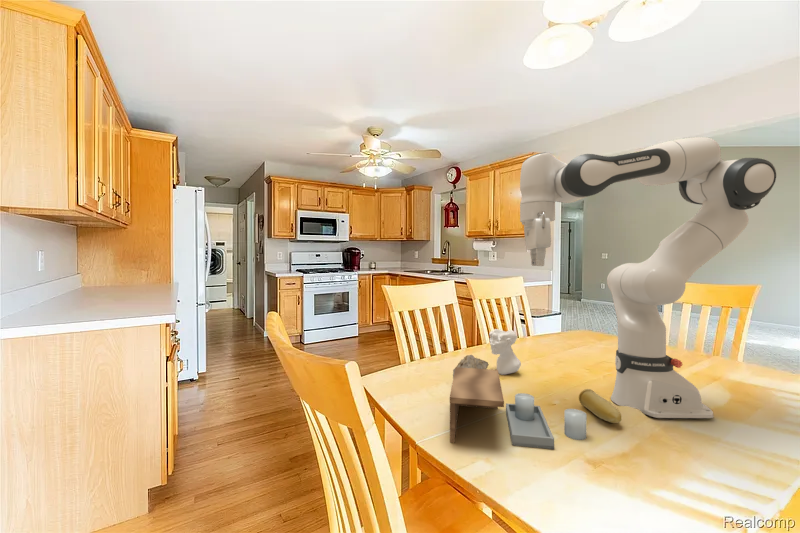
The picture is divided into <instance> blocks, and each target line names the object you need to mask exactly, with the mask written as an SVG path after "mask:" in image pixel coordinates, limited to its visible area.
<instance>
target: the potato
mask: <svg viewBox="0 0 800 533" xmlns="http://www.w3.org/2000/svg"><path fill="white" fill-rule="evenodd" d="M578 401H579V403H580V405H582V406H583V407H585V408H586V409H588V411H590V412H592V414H594V415H595V416H596V417H598V418H599V419H600V420H604V421H606V422H608V423H612V424H617V423H620V422H621V421H622V414H621V412H620V411H619V409H618V408H617V407H616V406H614V404H612V403H611V402H610V401H609V400H607V399H606V398H604V396H601V395H600V394H598V393H597V392H596V391H595V390H593V389H590V388H586V389H582V390H581V391H580V393H579V395H578Z"/></svg>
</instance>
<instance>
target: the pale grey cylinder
mask: <svg viewBox="0 0 800 533" xmlns="http://www.w3.org/2000/svg"><path fill="white" fill-rule="evenodd" d="M514 404H515V417H516V418H517V419H520V420H523V421H531V420H533V419H534V406H535V396H533V394H532V395H531V394H529V393H525V392H523V393H522V392H520V393H515V395H514Z"/></svg>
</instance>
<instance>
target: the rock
mask: <svg viewBox="0 0 800 533" xmlns="http://www.w3.org/2000/svg"><path fill="white" fill-rule="evenodd" d="M489 364H490V363H489V362H488V361H486V360H483V359H481V358H477V357H475V356H474V355H473V354H469V355H468V354H467V355H466V356H463V358H462V359H461V360H460V361H459V362H458V364H457V365H456V366H455V367H454V369H453V370H452V371H453V372H452V379H453V378H454V373H455V368H456V367H458V368H475V369H488V367H489Z"/></svg>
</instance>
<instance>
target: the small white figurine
mask: <svg viewBox="0 0 800 533" xmlns="http://www.w3.org/2000/svg"><path fill="white" fill-rule="evenodd" d="M517 339H518V338H517V334H516V332H515V330H512V329H509V330H507V331H505V330H502V329H498V328H495V329H493V330H490V331H489V345H490V350H491V354H493V355H499V356H498V357H497V358H496V370H498V374H499V375H502V376H503V375H504V376H506V375H510V374H514V373H517V372H518V371H519V369H520V367H521V365H522V363H521V360H520V359H519V358H518V357H517V355H516V354H515V353H514V350H513V348H512V345H515V343H516V341H517Z"/></svg>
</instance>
